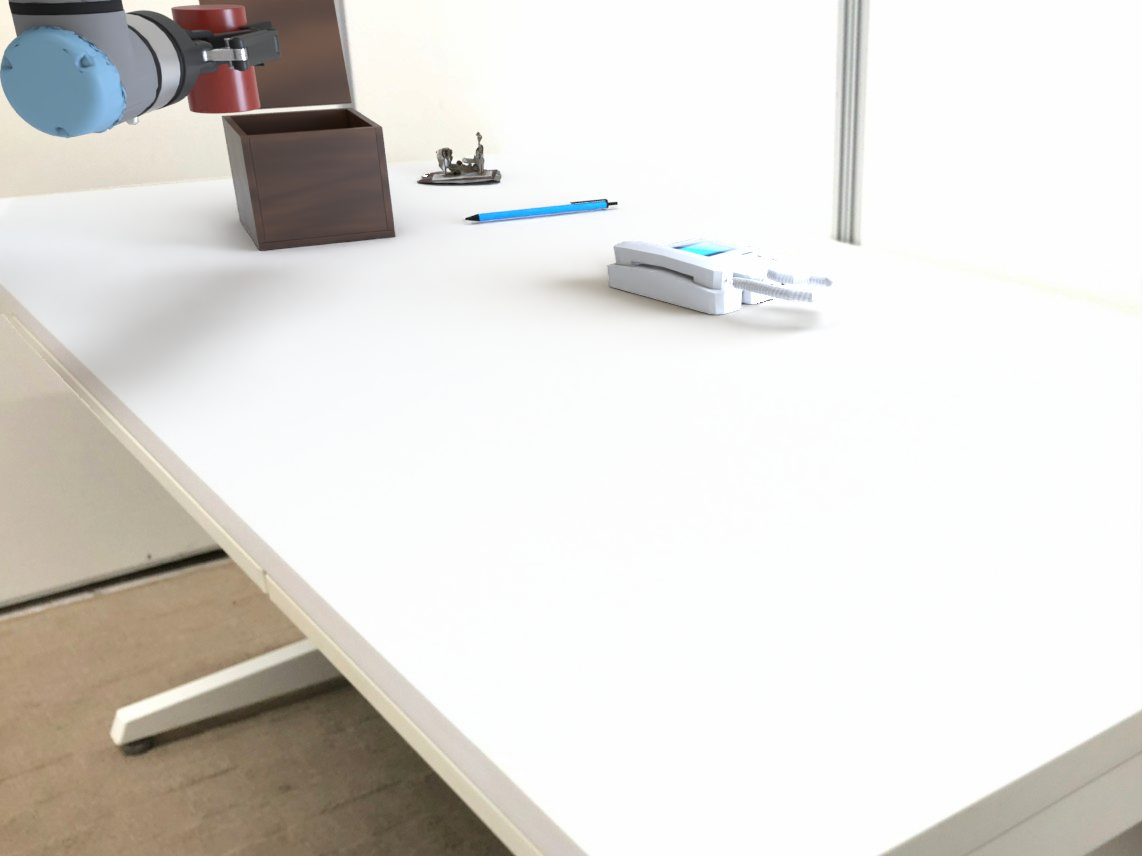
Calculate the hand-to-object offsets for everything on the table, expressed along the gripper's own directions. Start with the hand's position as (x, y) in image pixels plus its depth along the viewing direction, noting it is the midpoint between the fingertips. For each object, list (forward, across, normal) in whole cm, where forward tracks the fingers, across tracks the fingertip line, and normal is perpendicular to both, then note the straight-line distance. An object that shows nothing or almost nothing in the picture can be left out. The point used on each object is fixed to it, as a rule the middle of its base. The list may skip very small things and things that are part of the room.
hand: (232, 36), depth 126 cm
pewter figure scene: (+45, +12, -22) cm, 51 cm away
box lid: (+24, -4, -1) cm, 24 cm away
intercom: (-15, +49, -22) cm, 56 cm away
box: (+15, +1, -22) cm, 27 cm away
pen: (+21, +26, -22) cm, 40 cm away
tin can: (-5, 0, -6) cm, 8 cm away
